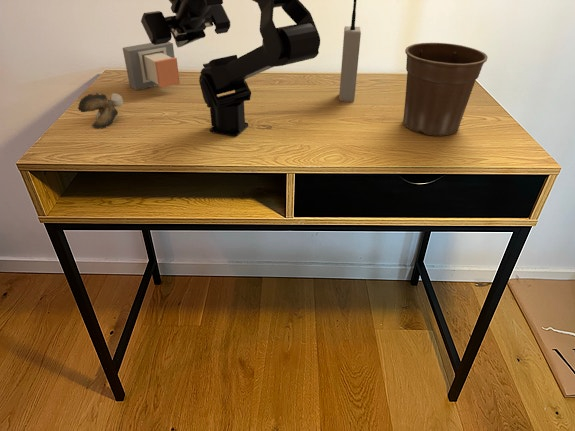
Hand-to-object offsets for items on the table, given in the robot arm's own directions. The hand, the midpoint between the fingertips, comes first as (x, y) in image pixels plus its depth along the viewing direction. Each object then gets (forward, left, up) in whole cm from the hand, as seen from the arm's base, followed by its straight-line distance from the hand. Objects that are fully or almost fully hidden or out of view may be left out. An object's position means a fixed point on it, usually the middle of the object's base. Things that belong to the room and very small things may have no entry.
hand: (178, 45), depth 105 cm
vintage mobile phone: (-36, -18, -14) cm, 43 cm away
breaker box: (+15, -8, -14) cm, 22 cm away
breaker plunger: (+10, -6, -11) cm, 17 cm away
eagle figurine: (+11, +16, -14) cm, 24 cm away
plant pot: (-58, -9, -14) cm, 61 cm away
